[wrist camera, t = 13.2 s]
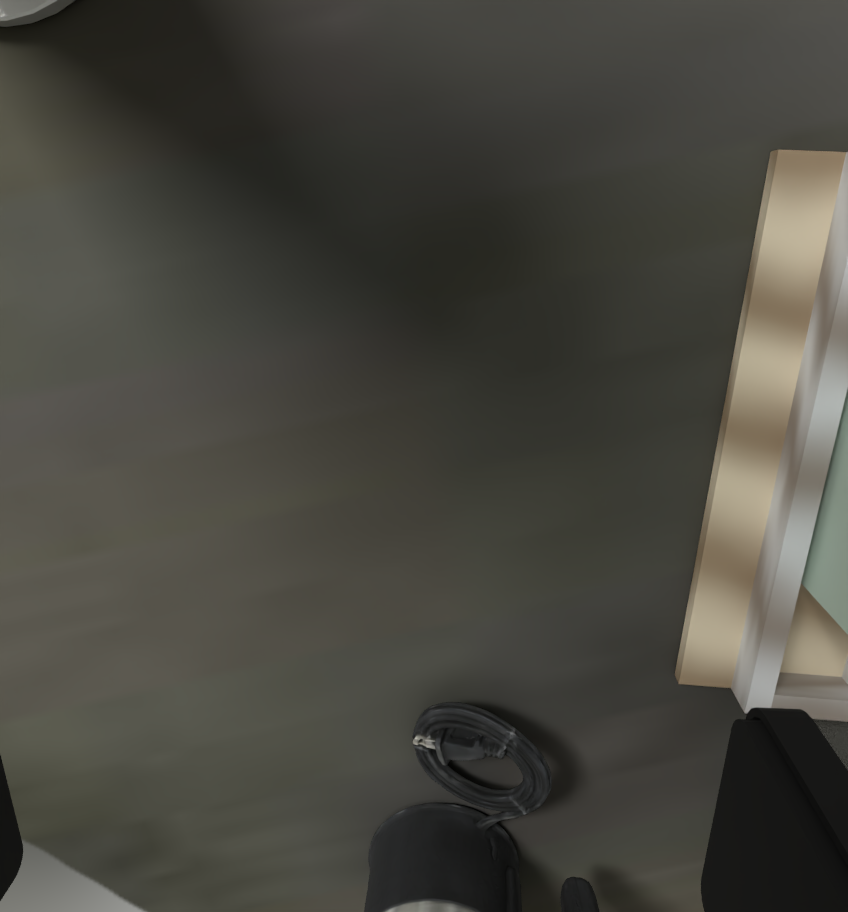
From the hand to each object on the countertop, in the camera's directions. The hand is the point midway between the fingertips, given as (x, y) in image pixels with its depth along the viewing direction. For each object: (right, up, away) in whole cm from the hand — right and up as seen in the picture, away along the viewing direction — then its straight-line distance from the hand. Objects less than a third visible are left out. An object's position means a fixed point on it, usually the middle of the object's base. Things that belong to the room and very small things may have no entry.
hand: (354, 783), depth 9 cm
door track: (+21, +4, +24) cm, 32 cm away
